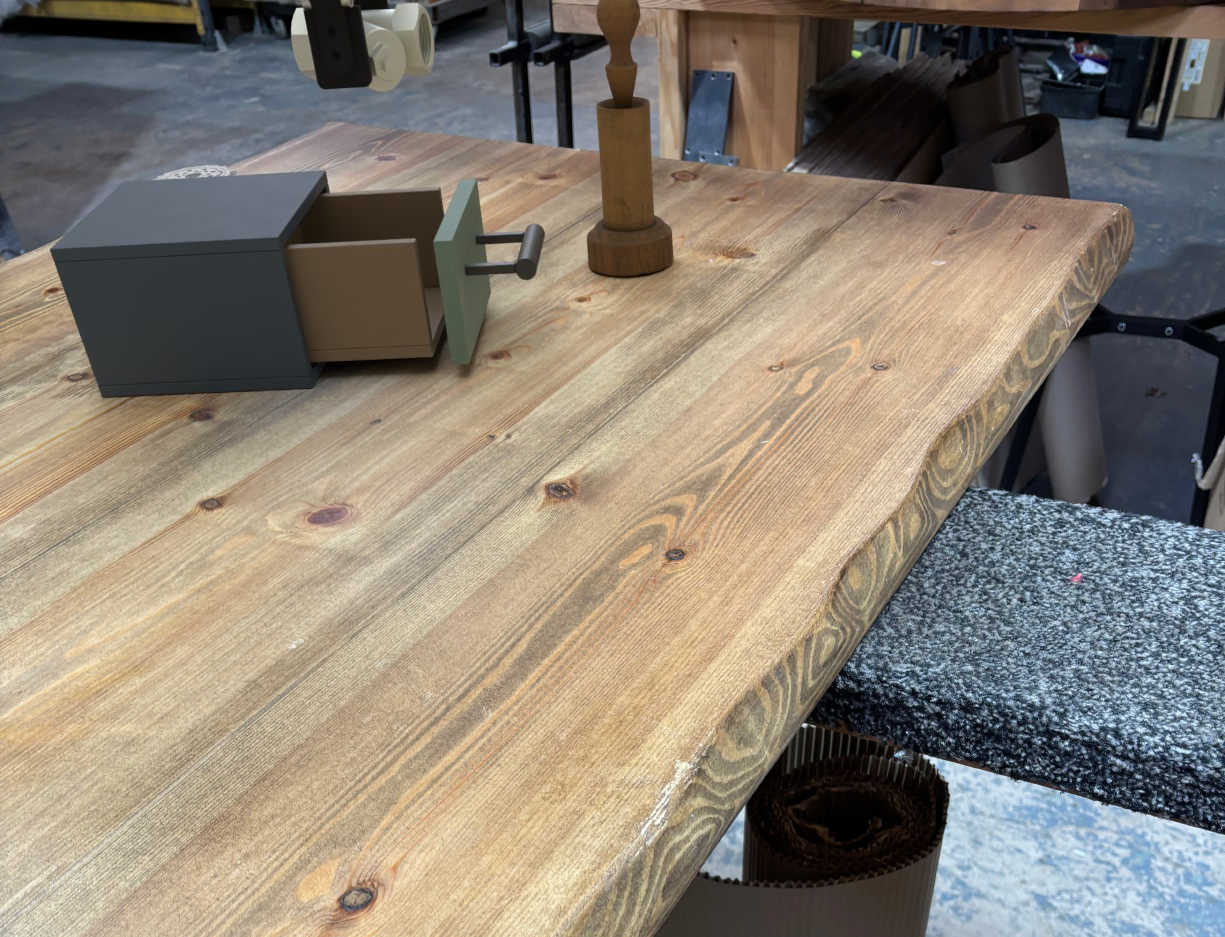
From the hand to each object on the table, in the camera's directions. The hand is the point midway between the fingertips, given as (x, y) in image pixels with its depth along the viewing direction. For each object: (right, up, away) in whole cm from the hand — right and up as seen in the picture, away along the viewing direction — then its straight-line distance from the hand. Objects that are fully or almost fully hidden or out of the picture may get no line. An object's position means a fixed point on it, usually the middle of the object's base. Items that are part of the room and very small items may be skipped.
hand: (358, 68), depth 75 cm
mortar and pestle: (+17, -3, +21) cm, 27 cm away
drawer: (+2, -12, +11) cm, 16 cm away
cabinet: (-11, -13, +12) cm, 21 cm away
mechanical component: (-20, +6, +34) cm, 40 cm away
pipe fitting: (0, -1, +1) cm, 1 cm away
